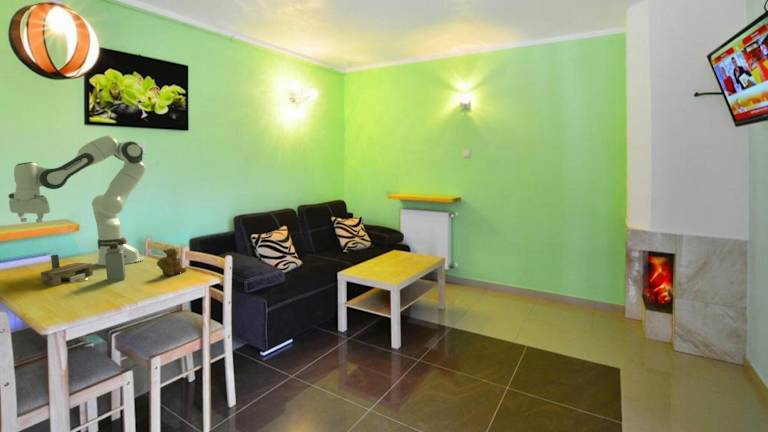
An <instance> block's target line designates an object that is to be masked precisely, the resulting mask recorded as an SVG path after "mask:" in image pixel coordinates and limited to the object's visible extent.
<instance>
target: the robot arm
mask: <svg viewBox="0 0 768 432" xmlns="http://www.w3.org/2000/svg"><path fill="white" fill-rule="evenodd" d="M143 154H144V150H143V147H142V146H141V144H140V143H138V142H136V141H130V140H129V141H121V142H119V141H117V139H116V138H115V137H113V136H111V135H104V136H101V137H98V138H96V139H94V140H91V141H89V142H88V143H86V144H85V145H83V146H82V147H80V148H79V149H78V152H77V153H76V156H75V157H74V158H72V159H71V160H69V161H68V162H66V163H64V164H62V165H61V166H59V167H55V168H49V167H45V166H42V165H39V164H37V163H35V162H33V161H29V162H20V163H17V164H16V165H15V166H14V169H13V176H14V182H15V185H16V186H15V191H14V192H11V193H9V194H7V198H8V199H9V201H8V204H9V206H8V207H9V211H10V212H11V213H12V214H17V216H18V217H19V219H20V222H21V223H25V222H28V221H27V220H28V219H27V218H26V216H25V214H36V215H37V218H36V219H35V222H36V223H38V224H39V223H42V222H43V218H44V216H45V215H46V214H49V213H50V212H51V209H50V204H49V201H48V198H47V197H46V196H45V195H43V194H41V191H40V187H44V188H45V189H48V190H57V189H58V190H59V189H60V188H63V186H64V185H65V184H66V183H67V182H68V180H69V178H70V177H72V176H74V175H75V174H77V173H79V172H81V171H83V170H84V169H86V168H88V167H91V166H94V165H97V164H98V163H100V162H102V161H104V160H107V159H108V158H109V157H112V156H113V157H115V158H116V159H118V160H120V161H123V166H122V168H121V169H120V170H119V171H118V172H117V173H116V175H115V176H114V178H113V179H112V180H111V181H110V182H109V185H108V187H107V189H106V191H105V193H104V194H98V195H96V196H95V197H94V198H93V199H92V201H91V206H92V211H93V214H94V219H95V222H96V228H97V229H96V230H97V249H98V259H97V263H96V264H97V265H98V266H106V261H105V254H106V252H107V250H106V249H107V248H108V247H109V244H110V243H118V247H119V246H121V251H122V250H123V252H124V263H125V265H129V264H134V263H135V262H136V263H140V261H141V262H143V261H144V260H143V259H145V258H144V256H143V255H140V252H139V250H138V249H137V248H136V247H134V246H132V245H131V244H129V243H128V242H127V241H128V239H127V237H123V236H122V235H123V234H122V225H121V222H120V220H119V215H118V214H120V213H121V212H122V211H123V210H124V209H123V208H124V206H125V204H126V202H127V200H128V198H129V196H130V194H131V193H132V191H133V190H134V189H135V188H136V186H137V185H138V184H139V182H140V181H141V179H142V177H143V176H144V174H145V172H146V169H147V167H146V165H145V164H144V163H143V162H142V161H143ZM142 260H143V261H142Z"/></svg>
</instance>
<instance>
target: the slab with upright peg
mask: <svg viewBox="0 0 768 432" xmlns="http://www.w3.org/2000/svg"><path fill="white" fill-rule="evenodd" d="M50 262H51V269H55V268H58V267H61V266H60V257H59V254H52V255H50ZM60 276H61V281H62V280H63V281H69V283H74V282H77V279H80V278H86V276H85V273H82V274H79V275H73V276H63V275H60Z"/></svg>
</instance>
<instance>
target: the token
mask: <svg viewBox="0 0 768 432" xmlns="http://www.w3.org/2000/svg"><path fill="white" fill-rule="evenodd" d="M87 281H89V277H85V278H80V279H77V281H76V282H77V283H82V282H87Z"/></svg>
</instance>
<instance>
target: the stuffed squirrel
mask: <svg viewBox="0 0 768 432" xmlns="http://www.w3.org/2000/svg"><path fill="white" fill-rule="evenodd" d="M162 252H163V253H164V254H165V255H166V256H163V257H162V258H159V259H158V261H156V266H158V267H159V269H160V270H162V275H164V276H165V277H167V276H168V277H172V275H173V276H174V275H177V274H176V273H179V274H181V273H180V272H183V273H185V272H186V271H187V270H188V269H187V267H183V266H182V265H181V262H182V258H181V257H178V250H177V249H176V248H173V247H170V248H168V249H163V250H162ZM184 271H185V272H184Z"/></svg>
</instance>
